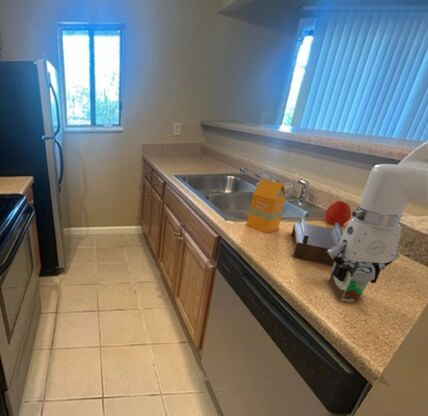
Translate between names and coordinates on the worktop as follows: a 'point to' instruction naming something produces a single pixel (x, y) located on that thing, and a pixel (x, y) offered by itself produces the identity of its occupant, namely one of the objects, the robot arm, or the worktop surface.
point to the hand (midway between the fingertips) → (353, 278)
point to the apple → (338, 213)
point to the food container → (353, 280)
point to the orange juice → (267, 206)
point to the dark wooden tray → (315, 241)
